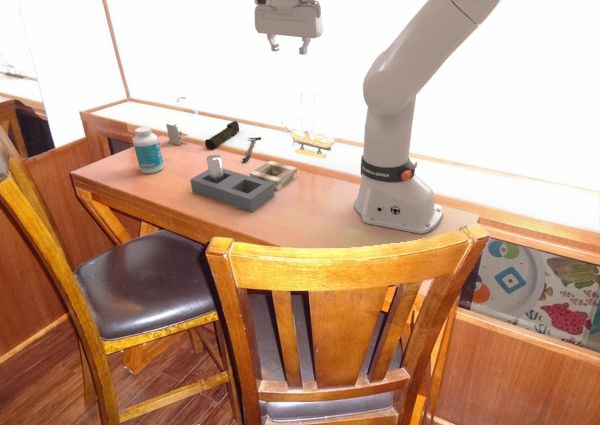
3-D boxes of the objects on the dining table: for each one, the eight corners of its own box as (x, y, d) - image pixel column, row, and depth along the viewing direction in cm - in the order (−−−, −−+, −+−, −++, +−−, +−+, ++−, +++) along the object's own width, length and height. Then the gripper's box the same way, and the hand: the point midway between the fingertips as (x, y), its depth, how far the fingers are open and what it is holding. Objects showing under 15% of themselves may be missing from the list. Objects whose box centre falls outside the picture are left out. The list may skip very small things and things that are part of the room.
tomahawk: (244, 140, 159) (243, 137, 159) (261, 139, 158) (261, 136, 158) (229, 165, 142) (228, 161, 141) (249, 163, 140) (248, 160, 140)
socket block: (297, 176, 132) (296, 167, 130) (277, 190, 125) (277, 181, 123) (270, 169, 136) (270, 160, 135) (250, 182, 129) (249, 173, 128)
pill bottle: (167, 170, 138) (158, 130, 131) (144, 176, 135) (133, 135, 128) (160, 162, 143) (151, 122, 136) (137, 167, 140) (127, 128, 133)
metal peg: (228, 187, 127) (224, 156, 122) (219, 193, 124) (214, 161, 119) (218, 184, 129) (213, 153, 124) (208, 190, 126) (203, 158, 121)
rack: (274, 196, 122) (273, 183, 120) (251, 212, 115) (250, 199, 113) (216, 177, 133) (214, 165, 131) (192, 191, 126) (190, 179, 124)
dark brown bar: (214, 151, 150) (213, 138, 148) (205, 149, 152) (203, 136, 149) (245, 132, 164) (244, 120, 162) (236, 130, 166) (235, 119, 163)
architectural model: (177, 140, 160) (173, 120, 156) (189, 144, 156) (186, 124, 152) (169, 143, 158) (165, 123, 154) (182, 147, 154) (178, 127, 150)
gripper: (327, -3, 111) (327, 53, 118) (263, -6, 121) (267, 47, 128) (314, 0, 107) (314, 58, 114) (249, -3, 116) (253, 51, 124)
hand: (289, 52), depth 121 cm, fingers open, 8 cm apart
